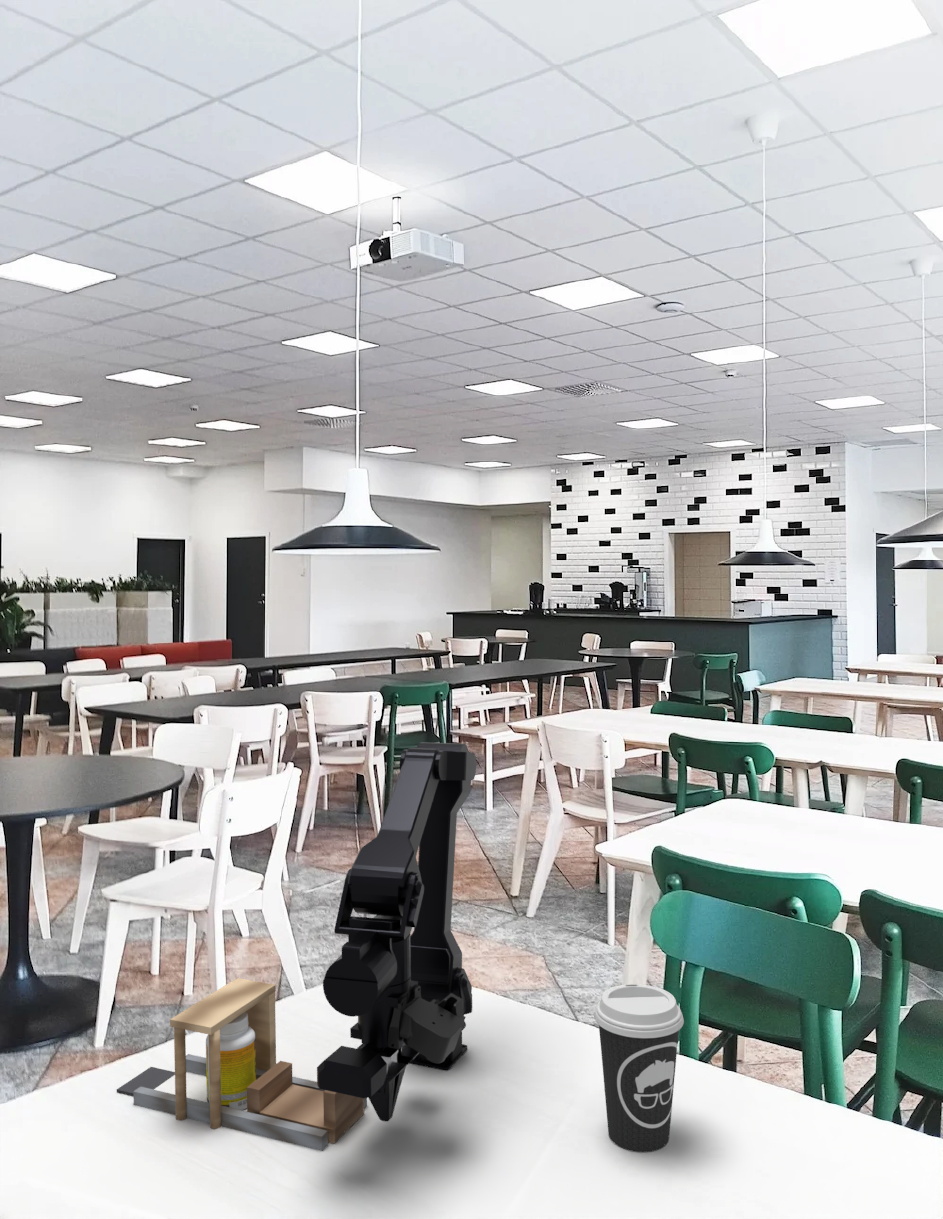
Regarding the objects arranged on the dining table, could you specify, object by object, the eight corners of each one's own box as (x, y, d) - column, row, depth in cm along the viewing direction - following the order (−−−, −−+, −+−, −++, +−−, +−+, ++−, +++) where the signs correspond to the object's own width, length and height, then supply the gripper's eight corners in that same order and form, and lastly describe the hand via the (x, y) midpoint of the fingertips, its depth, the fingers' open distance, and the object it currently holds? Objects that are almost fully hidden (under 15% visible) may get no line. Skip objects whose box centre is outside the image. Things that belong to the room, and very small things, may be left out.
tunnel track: (372, 1102, 118) (371, 1001, 117) (315, 1159, 106) (313, 1048, 106) (195, 1063, 127) (193, 970, 127) (125, 1112, 116) (123, 1009, 116)
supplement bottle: (265, 1104, 117) (263, 1017, 117) (220, 1121, 114) (218, 1031, 114) (242, 1086, 122) (241, 1001, 121) (198, 1101, 118) (197, 1014, 118)
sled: (364, 1113, 115) (363, 1067, 115) (333, 1143, 109) (333, 1095, 109) (280, 1094, 119) (280, 1050, 119) (247, 1122, 113) (246, 1076, 113)
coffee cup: (689, 1120, 113) (689, 987, 113) (677, 1167, 104) (677, 1023, 104) (604, 1105, 117) (603, 976, 116) (585, 1151, 108) (585, 1010, 107)
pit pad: (177, 1074, 125) (177, 1072, 125) (143, 1098, 119) (143, 1095, 119) (151, 1068, 126) (151, 1066, 126) (116, 1091, 121) (116, 1089, 121)
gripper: (413, 1024, 98) (414, 1184, 98) (486, 956, 115) (487, 1092, 116) (313, 1006, 102) (315, 1159, 103) (398, 943, 119) (399, 1074, 120)
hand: (385, 1119), depth 110 cm, fingers closed
